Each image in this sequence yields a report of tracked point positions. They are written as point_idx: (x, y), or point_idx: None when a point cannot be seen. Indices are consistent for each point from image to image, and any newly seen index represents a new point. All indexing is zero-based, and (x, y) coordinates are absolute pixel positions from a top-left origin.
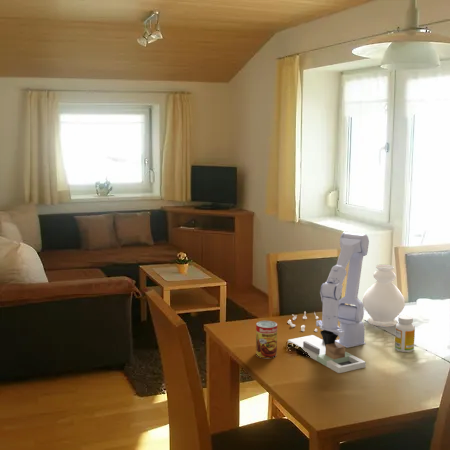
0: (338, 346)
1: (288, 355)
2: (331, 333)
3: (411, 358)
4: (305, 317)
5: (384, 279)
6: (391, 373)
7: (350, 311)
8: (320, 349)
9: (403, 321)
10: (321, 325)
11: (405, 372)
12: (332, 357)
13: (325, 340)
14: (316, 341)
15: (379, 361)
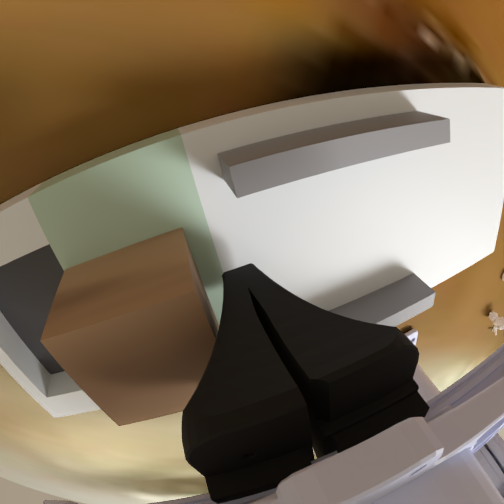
0: (121, 390)
1: None
2: (222, 476)
3: (165, 489)
4: None
5: None
6: (17, 435)
7: None
8: (320, 223)
9: None
10: (467, 445)
11: (40, 461)
12: (79, 270)
13: (271, 321)
14: (441, 242)
15: (136, 442)
